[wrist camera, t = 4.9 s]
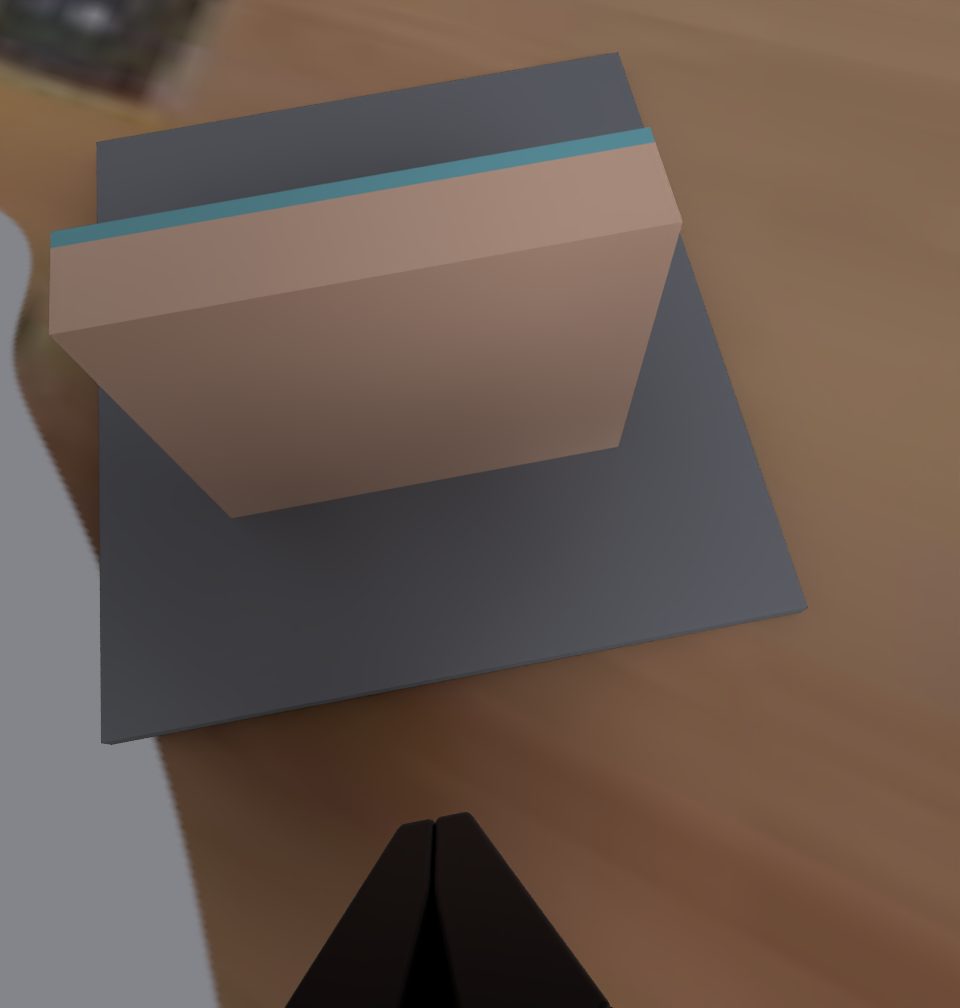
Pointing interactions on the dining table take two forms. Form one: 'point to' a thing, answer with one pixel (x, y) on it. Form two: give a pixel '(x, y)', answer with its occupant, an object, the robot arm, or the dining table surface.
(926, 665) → the dining table surface
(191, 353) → the tile
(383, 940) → the robot arm
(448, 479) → the mat
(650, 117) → the dining table surface
